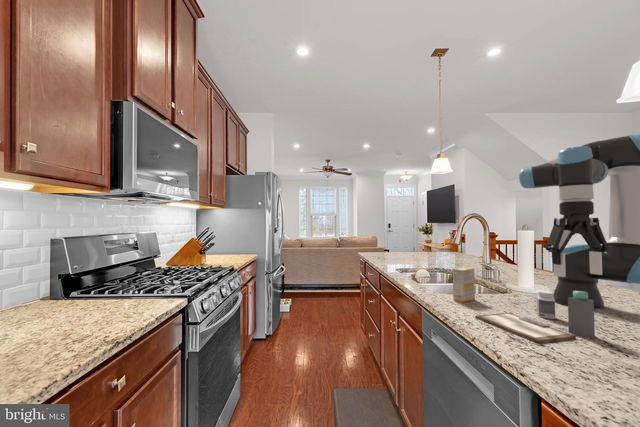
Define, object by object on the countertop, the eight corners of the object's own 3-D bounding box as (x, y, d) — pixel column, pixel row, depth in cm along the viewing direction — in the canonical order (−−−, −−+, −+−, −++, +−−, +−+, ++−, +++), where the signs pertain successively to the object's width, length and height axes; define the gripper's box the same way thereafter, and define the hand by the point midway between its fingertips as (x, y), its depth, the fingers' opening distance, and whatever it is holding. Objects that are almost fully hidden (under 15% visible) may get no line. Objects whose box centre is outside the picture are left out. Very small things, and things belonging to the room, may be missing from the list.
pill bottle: (558, 319, 98) (557, 293, 99) (542, 318, 99) (541, 293, 100) (550, 315, 103) (549, 290, 103) (535, 314, 104) (534, 290, 104)
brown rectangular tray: (507, 315, 103) (507, 310, 103) (575, 338, 82) (575, 333, 82) (475, 318, 100) (475, 313, 100) (538, 343, 79) (538, 338, 79)
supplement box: (464, 297, 128) (463, 266, 128) (475, 300, 124) (474, 268, 124) (452, 300, 124) (452, 268, 124) (463, 302, 119) (462, 269, 120)
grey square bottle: (579, 331, 88) (578, 290, 88) (594, 336, 84) (593, 293, 84) (568, 332, 87) (567, 290, 87) (584, 337, 83) (582, 294, 83)
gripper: (593, 202, 93) (596, 271, 93) (529, 201, 87) (531, 274, 87) (623, 200, 86) (625, 275, 85) (555, 199, 80) (557, 279, 79)
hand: (578, 275), depth 86 cm, fingers open, 13 cm apart
